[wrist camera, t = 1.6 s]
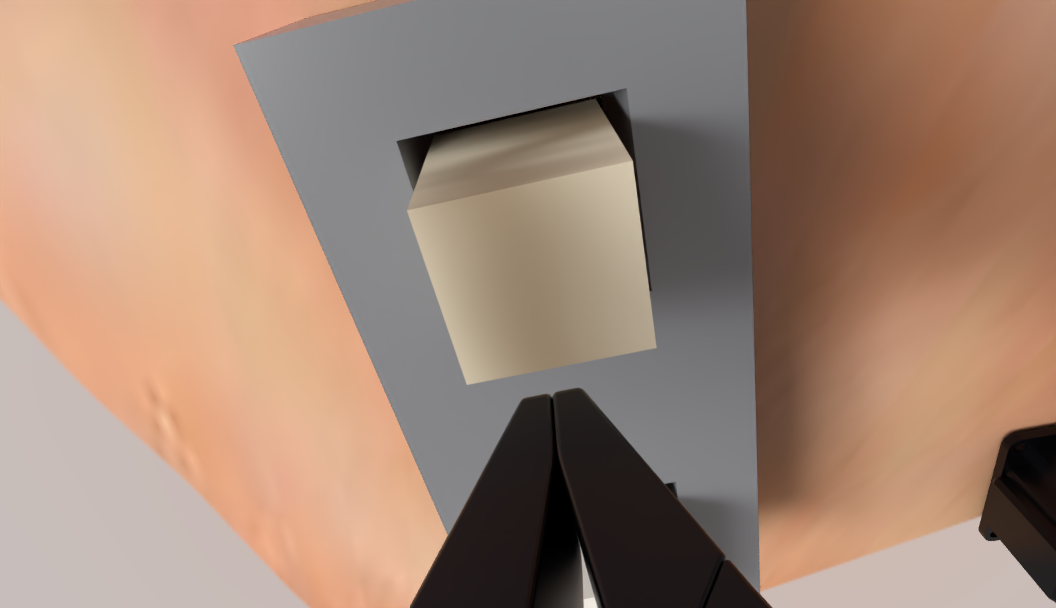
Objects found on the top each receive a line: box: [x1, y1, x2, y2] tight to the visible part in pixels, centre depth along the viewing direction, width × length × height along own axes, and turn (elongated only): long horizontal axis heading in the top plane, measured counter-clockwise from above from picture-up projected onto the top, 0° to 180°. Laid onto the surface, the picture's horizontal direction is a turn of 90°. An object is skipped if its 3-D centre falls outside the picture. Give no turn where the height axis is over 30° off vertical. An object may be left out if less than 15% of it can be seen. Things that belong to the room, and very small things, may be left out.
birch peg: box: [407, 99, 657, 385], centre depth 13 cm, size 4×4×5 cm
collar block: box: [233, 0, 760, 593], centre depth 19 cm, size 10×22×5 cm, turn 12°
